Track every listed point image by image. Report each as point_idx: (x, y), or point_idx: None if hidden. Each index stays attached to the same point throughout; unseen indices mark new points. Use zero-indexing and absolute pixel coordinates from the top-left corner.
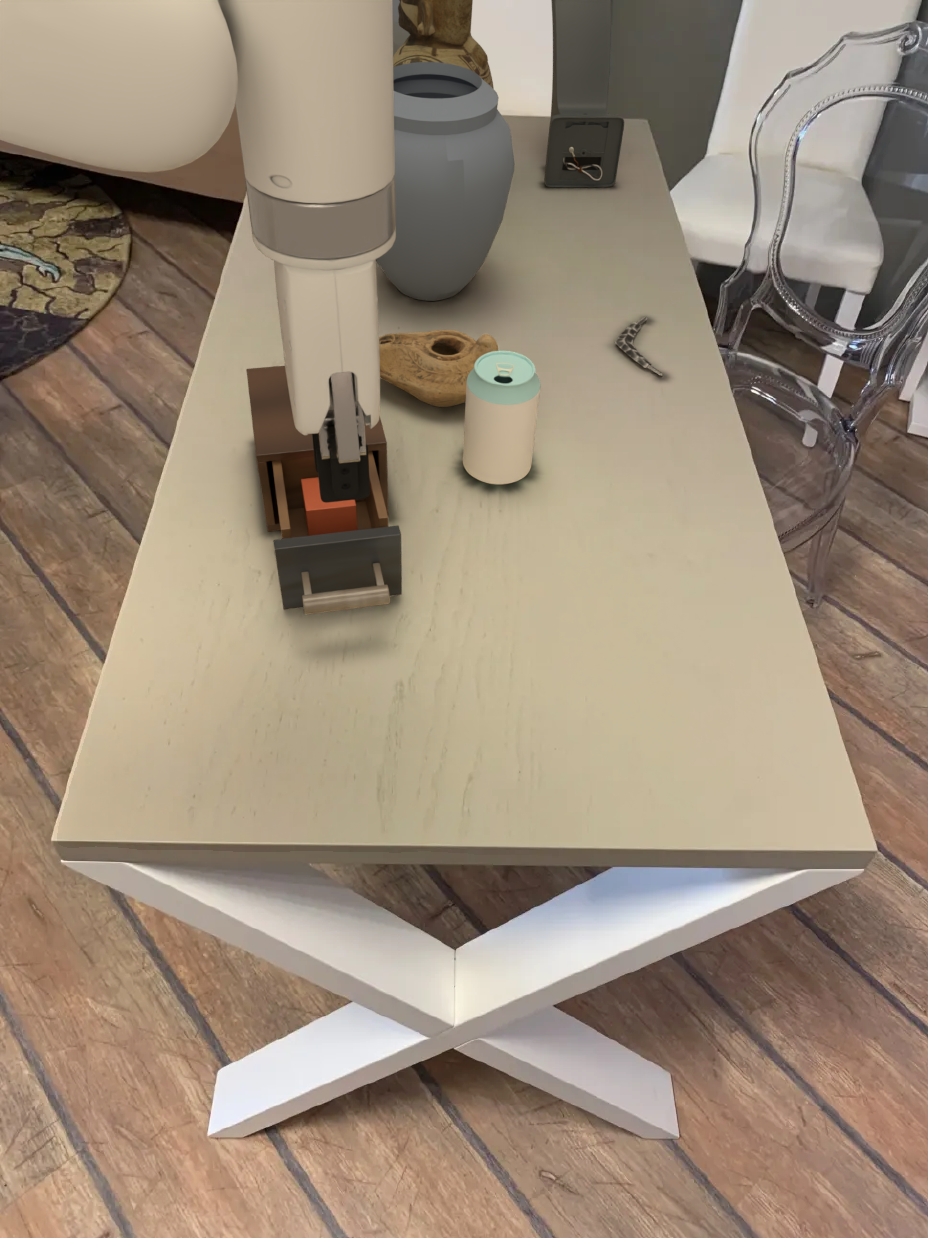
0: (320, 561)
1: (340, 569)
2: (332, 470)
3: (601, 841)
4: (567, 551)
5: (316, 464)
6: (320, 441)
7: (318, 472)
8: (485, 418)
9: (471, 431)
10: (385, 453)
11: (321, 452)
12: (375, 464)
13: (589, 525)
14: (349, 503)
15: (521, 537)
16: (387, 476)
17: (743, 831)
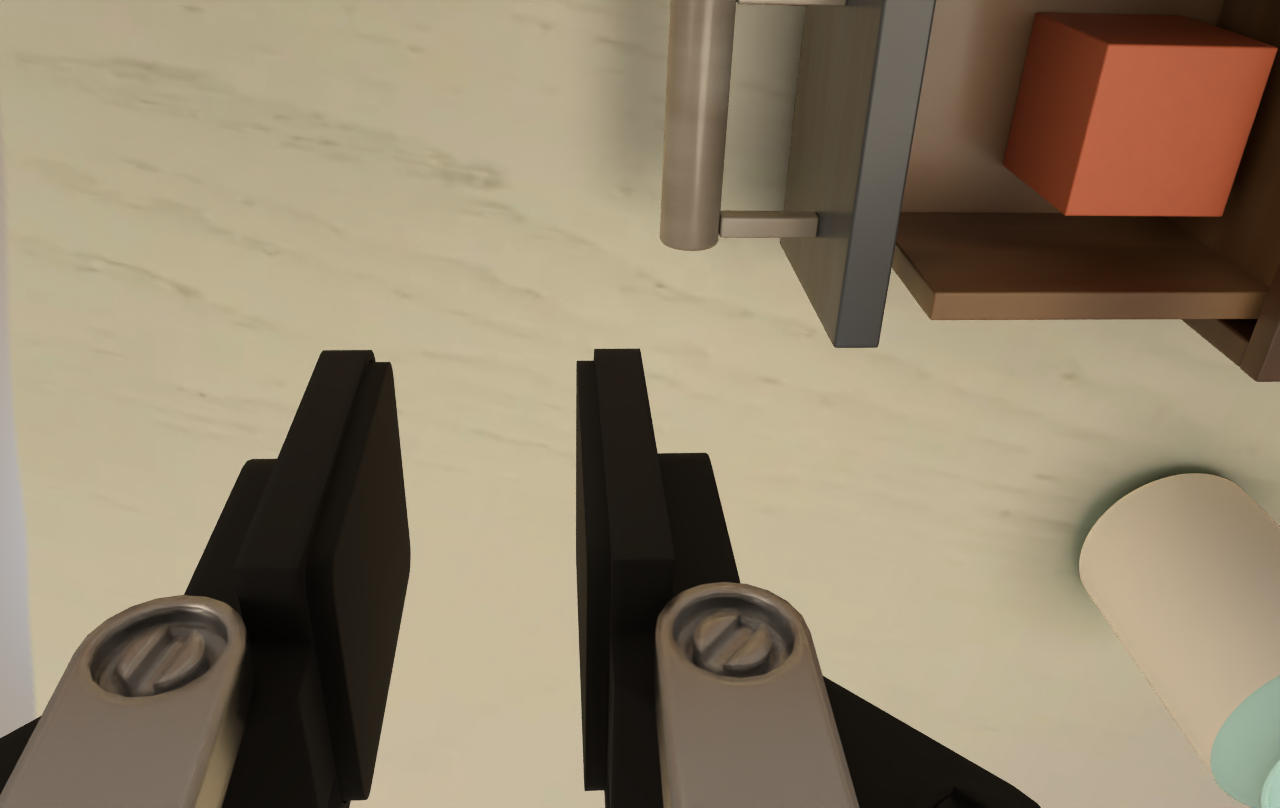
0: (849, 61)
1: (830, 113)
2: (190, 584)
3: (24, 504)
4: (823, 614)
5: (597, 376)
6: (19, 766)
7: (277, 464)
8: (1230, 639)
9: (1236, 568)
10: (1231, 355)
11: (69, 674)
12: None
13: (886, 668)
14: (1081, 197)
15: (901, 538)
16: None
17: None
